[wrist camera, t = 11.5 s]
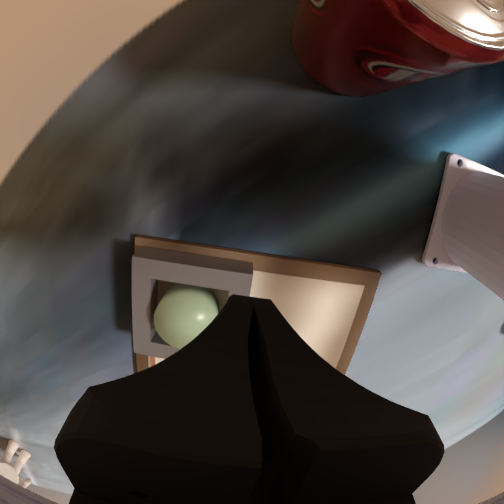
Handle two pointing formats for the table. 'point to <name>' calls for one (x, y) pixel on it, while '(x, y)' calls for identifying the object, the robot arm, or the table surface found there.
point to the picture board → (294, 296)
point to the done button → (184, 313)
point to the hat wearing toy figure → (14, 464)
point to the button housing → (179, 271)
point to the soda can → (394, 41)
